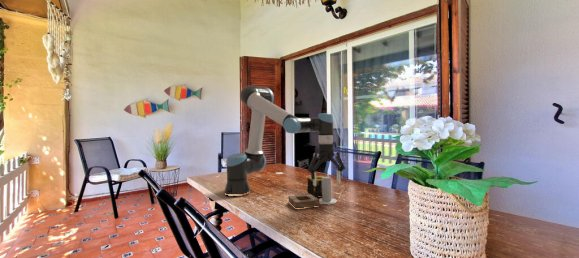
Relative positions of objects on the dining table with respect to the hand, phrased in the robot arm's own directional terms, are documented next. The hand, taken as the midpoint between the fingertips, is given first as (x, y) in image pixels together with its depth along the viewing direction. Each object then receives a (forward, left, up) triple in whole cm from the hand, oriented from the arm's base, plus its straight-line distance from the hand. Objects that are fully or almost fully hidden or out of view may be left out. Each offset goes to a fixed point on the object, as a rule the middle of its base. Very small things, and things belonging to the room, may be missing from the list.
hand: (326, 184), depth 140 cm
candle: (-14, +1, -9) cm, 17 cm away
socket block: (0, -13, -9) cm, 16 cm away
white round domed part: (0, 0, -9) cm, 9 cm away
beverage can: (0, 0, -9) cm, 9 cm away
